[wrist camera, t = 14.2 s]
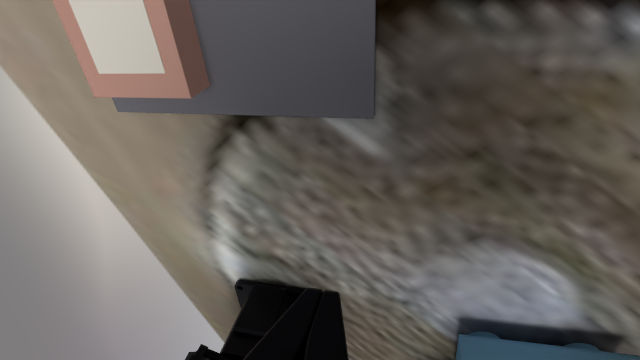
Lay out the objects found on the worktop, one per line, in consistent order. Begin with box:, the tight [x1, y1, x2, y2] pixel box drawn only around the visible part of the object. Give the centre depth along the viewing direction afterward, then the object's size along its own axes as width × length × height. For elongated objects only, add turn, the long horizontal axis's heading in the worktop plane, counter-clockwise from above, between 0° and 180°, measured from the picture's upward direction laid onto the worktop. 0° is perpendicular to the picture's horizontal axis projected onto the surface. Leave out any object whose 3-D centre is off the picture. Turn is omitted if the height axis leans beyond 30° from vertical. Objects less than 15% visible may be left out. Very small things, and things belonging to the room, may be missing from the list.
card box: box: [52, 0, 210, 98], centre depth 17 cm, size 9×2×6 cm
